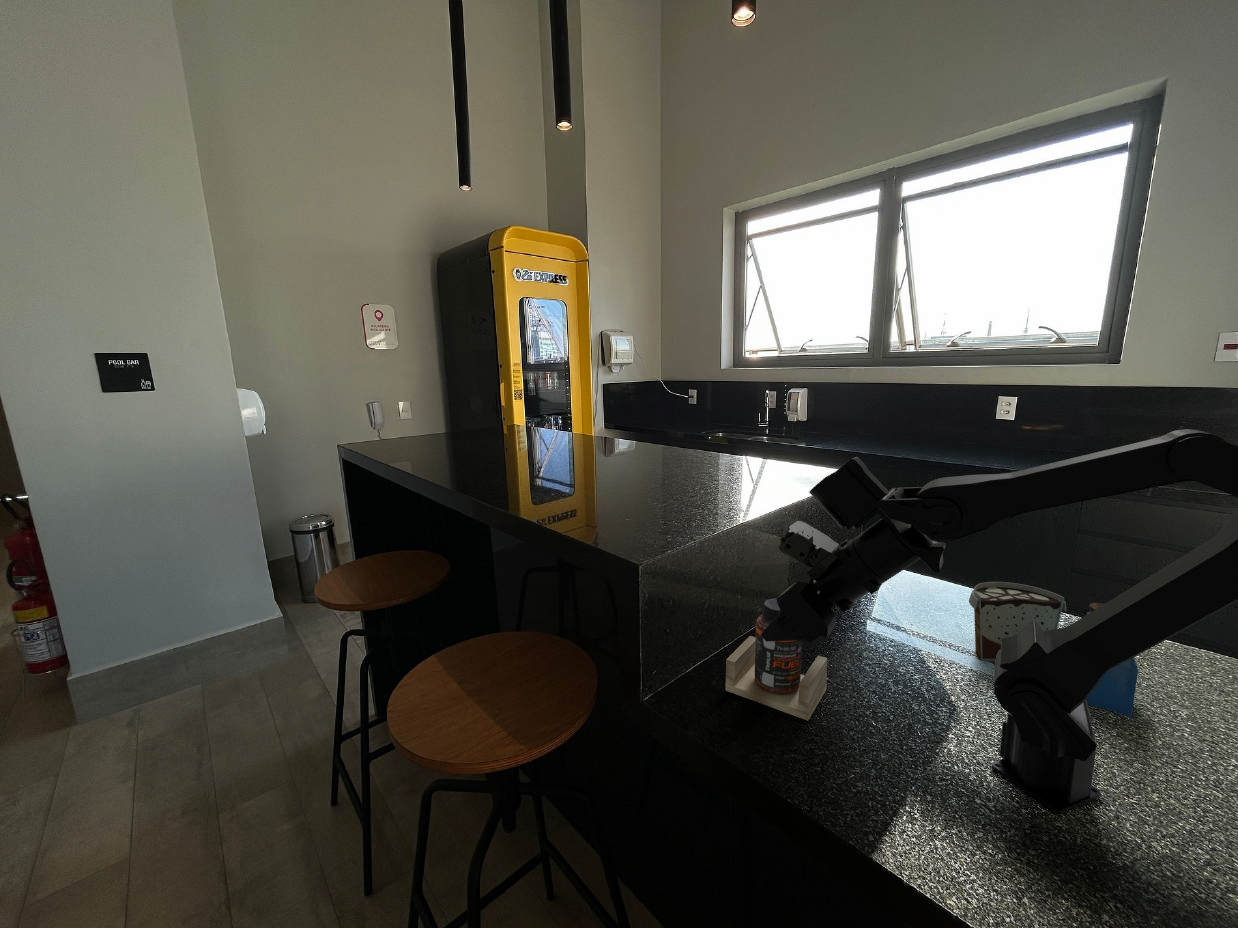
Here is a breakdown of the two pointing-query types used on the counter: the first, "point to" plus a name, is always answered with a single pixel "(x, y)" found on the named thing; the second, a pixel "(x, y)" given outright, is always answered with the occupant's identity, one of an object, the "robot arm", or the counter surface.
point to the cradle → (794, 703)
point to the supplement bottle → (776, 657)
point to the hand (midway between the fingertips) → (776, 623)
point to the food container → (1010, 613)
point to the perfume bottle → (1115, 685)
